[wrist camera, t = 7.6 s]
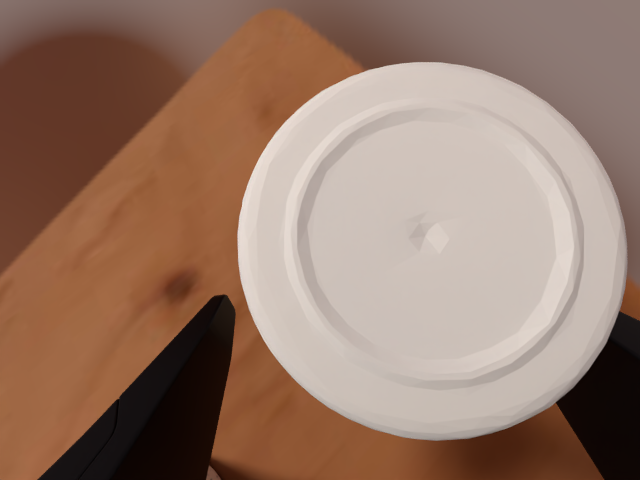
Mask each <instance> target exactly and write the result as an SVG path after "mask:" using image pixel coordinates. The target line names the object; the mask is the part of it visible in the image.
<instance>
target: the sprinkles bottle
mask: <svg viewBox="0 0 640 480" xmlns="http://www.w3.org/2000/svg"><path fill="white" fill-rule="evenodd" d="M238 263H239V270H240V277H241V283H242V287H243V290H244V293H245V297H246V300H247V304H248V307H249V310H250V312H251V315H252V317H253V319H254V322H255V324H256V326H257V328H258V330H259V332H260V334H261V336H262V338H263V340H264V341H265V343H266V344H267V346H268V347H269V349H270V351H271V352H272V353H273V355H274V356H275V357H276V359H277V360H278V361H279V363H280V364H281V365H282V366H283V367H284V368H285V369H286V371H287V372H288V373H289V374H290V375H291V376H292V377H293V379H294V380H295V381H296V382H298V383H299V384H300V385H301V386H302V387H303V388H304V389H305V390H307V391H308V392H309V393H310V394H311V395H312V396H313V397H315V398H316V399H317V400H319V401H320V402H322V403H323V404H324V405H326V406H327V407H329V408H330V409H332V410H334V411H336V412H337V413H339V414H341V415H343V416H344V417H346V418H348V419H350V420H352V421H355V422H357V423H359V424H362V425H364V426H367V427H369V428H372V429H374V430H378V431H381V432H385V433H389V434H393V435H397V436H400V437H405V438H413V439H423V440H435V441H438V440H454V439H469V438H473V437H478V436H482V435H486V434H491V433H494V432H497V431H500V430H504V429H507V428H509V427H512V426H514V425H516V424H518V423H520V422H523V421H525V420H527V419H529V418H531V417H533V416H535V415H537V414H538V413H540V412H542V411H544V410H545V409H547V408H549V407H551V406H552V405H553V404H554V403H555V402H557V401H558V400H559V399H560V398H561V397H563V396H564V395H565V394H566V393H567V392H569V391H570V390H571V389H572V388H573V387H574V386H575V385H576V384H577V383H578V381H579V380H580V379H581V378H582V377H583V376H584V374H585V373H586V372H587V371H588V370H589V368H590V367H591V365H592V364H593V362H594V361H595V359H596V358H597V356H598V355H599V353H600V352H601V350H602V349H603V347H604V346H605V344H606V342H607V340H608V338H609V335H610V333H611V331H612V328H613V326H614V324H615V321H616V318H617V315H618V313H619V310H620V307H621V304H622V300H623V295H624V290H625V284H626V274H627V240H626V232H625V225H624V220H623V217H622V213H621V209H620V205H619V201H618V198H617V196H616V193H615V191H614V188H613V186H612V183H611V181H610V178H609V176H608V174H607V173H606V171H605V169H604V167H603V165H602V164H601V162H600V160H599V159H598V157H597V156H596V154H595V153H594V151H593V150H592V148H591V147H590V145H589V144H588V143H587V141H586V140H585V139H584V138H583V137H582V136H581V134H580V133H579V132H578V131H577V130H576V128H575V127H574V126H573V125H572V124H571V123H570V122H569V121H568V120H567V119H566V118H565V117H563V116H562V115H561V114H560V113H559V112H558V111H556V110H555V109H554V108H553V107H552V106H551V105H550V104H548V103H547V102H546V101H544V100H543V99H541V98H539V97H538V96H536V95H535V94H533V93H532V92H530V91H528V90H527V89H525V88H524V87H522V86H520V85H518V84H516V83H514V82H511V81H509V80H507V79H505V78H502V77H500V76H497V75H494V74H491V73H489V72H486V71H483V70H479V69H476V68H471V67H467V66H462V65H454V64H447V63H440V62H439V63H438V62H415V63H403V64H397V65H390V66H385V67H381V68H376V69H373V70H368V71H365V72H363V73H360V74H357V75H354V76H351V77H349V78H347V79H345V80H343V81H341V82H339V83H337V84H335V85H333V86H331V87H329V88H327V89H325V90H323V91H322V92H320V93H319V94H317V95H316V96H315V97H313V98H312V99H311V100H309V101H308V102H307V103H305V104H304V105H303V106H302V107H301V108H299V109H298V110H297V111H296V112H295V113H294V114H293V115H292V116H291V117H290V118H289V119H288V120H287V121H286V122H285V123H284V124H283V125H282V126H281V128H280V129H279V130H278V131H277V132H276V134H275V135H274V136H273V138H272V139H271V141H270V142H269V143H268V145H267V147H266V148H265V150H264V151H263V153H262V155H261V156H260V158H259V160H258V162H257V164H256V166H255V168H254V170H253V173H252V175H251V178H250V180H249V183H248V185H247V188H246V192H245V195H244V198H243V201H242V209H241V213H240V217H239V228H238Z"/></svg>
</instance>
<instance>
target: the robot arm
mask: <svg viewBox="0 0 640 480" xmlns="http://www.w3.org/2000/svg"><path fill="white" fill-rule="evenodd" d="M235 315H236V314H235V309H234V307H233V305H232V303H231V301H230V300H229V298H228V296H227V295H216V296H214V297H212V298H211V299H210V300H209V301H208V302H207V303H206V305H205V306H204V307H203V308H202V309H201V310H200V311H199V312H198V313H197V314H196V315H195V316H194V317H193V318H192V320H191V321H190V322H189V323H188V324H187V325H186V326H185V327H184V328H183V329H182V330H181V331H180V332H179V333H178V335H177V336H176V337H175V338H174V339H173V340H172V341H171V342H170V343H169V344H168V345H167V346H166V347H165V348H164V350H163V351H162V352H161V353H160V354H159V355H158V356H157V357H156V358H155V359H154V360H153V361H152V362H151V363H150V365H149V366H148V367H147V368H146V369H145V370H144V371H143V372H142V373H141V374H140V375H139V376H138V377H137V378H136V380H135V381H134V382H133V383H132V384H131V385H130V386H129V387H128V388H127V389H126V390H125V391H124V392H123V393H122V395H121V396H120V397H119V399H117V400H116V401H115V402H114V403H113V404H112V405H111V406H110V407H109V408H108V409H107V410H106V412H105V413H104V414H103V415H102V416H101V417H100V418H99V419H98V420H97V421H96V422H95V423H94V424H93V425H92V426H91V427H90V428H89V429H88V430H87V431H86V432H85V433H84V434H83V436H82V437H81V438H80V439H78V440H77V441H76V442H75V443H74V444H73V445H72V446H71V447H70V448H69V449H68V450H67V451H66V452H65V453H64V454H63V455H62V456H61V457H60V458H59V459H58V460H57V461H56V462H55V463H54V464H53V465H52V466H51V467H50V468H49V469H48V470H47V471H46V472H45V473H44V474H43V475H42V476H41V477H40V478H39V479H38V480H206V478H207V473H208V468H209V463H210V459H211V454H212V449H213V444H214V439H215V435H216V430H217V425H218V420H219V415H220V410H221V406H222V401H223V396H224V391H225V386H226V381H227V377H228V372H229V367H230V362H231V356H232V347H233V336H234V326H235ZM556 404H557V405H558V407H559V409H560V410H561V412H562V413H563V415H564V416H565V418H566V420H567V421H568V423H569V424H570V426H571V428H572V429H573V431H574V432H575V434H576V435H577V437H578V439H579V440H580V442H581V443H582V445H583V447H584V448H585V450H586V451H587V453H588V454H589V456H590V458H591V459H592V461H593V462H594V464H595V466H596V467H597V469H598V470H599V472H600V473H601V475H602V477H603V478H604V480H640V321H639V320H637V319H634V318H632V317H630V316H628V315H626V314H624V313H622V312H620V311H619V313H618V315H617V318H616V321H615V324H614V326H613V328H612V331H611V333H610V335H609V338H608V340H607V342H606V344H605V346H604V347H603V349H602V350H601V352H600V353H599V355H598V356H597V358H596V359H595V361H594V362H593V364H592V365H591V367H590V368H589V370H588V371H587V372H586V373H585V374H584V376H583V377H582V378H581V379H580V380H579V381H578V383H577V384H576V385H575V386H574V387H573V388H572V389H571V390H570V391H569V392H567V393H566V394H565V395H564V396H563V397H561V398H560V399H559V400H558V401H557V402H556Z"/></svg>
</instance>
